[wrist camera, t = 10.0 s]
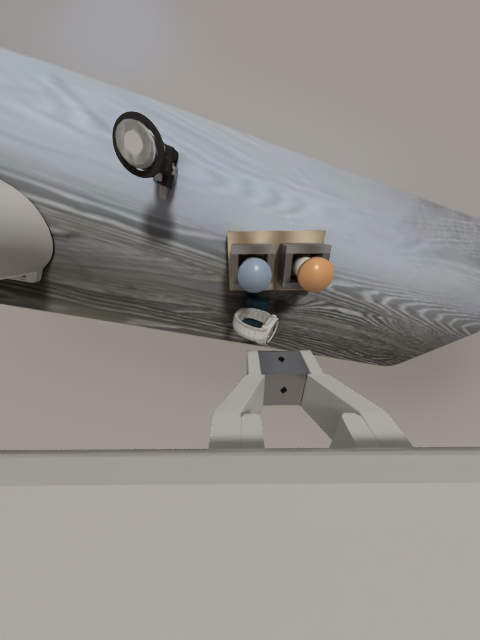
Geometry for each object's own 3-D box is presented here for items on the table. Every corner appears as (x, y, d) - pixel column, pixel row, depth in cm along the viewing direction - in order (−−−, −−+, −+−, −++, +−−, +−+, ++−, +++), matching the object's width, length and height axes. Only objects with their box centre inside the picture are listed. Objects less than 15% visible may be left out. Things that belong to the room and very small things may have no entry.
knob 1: (239, 276, 33) (238, 293, 25) (238, 250, 31) (237, 259, 23) (263, 275, 33) (270, 292, 25) (264, 249, 31) (272, 258, 23)
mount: (230, 287, 36) (227, 300, 30) (228, 231, 31) (224, 233, 25) (311, 286, 36) (325, 299, 30) (320, 230, 31) (340, 231, 25)
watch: (267, 322, 40) (276, 354, 30) (231, 314, 39) (228, 344, 29) (276, 299, 37) (288, 325, 27) (238, 289, 36) (236, 313, 27)
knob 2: (283, 275, 33) (297, 292, 24) (285, 249, 31) (302, 258, 22) (307, 275, 33) (330, 292, 24) (312, 249, 31) (337, 258, 22)
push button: (180, 205, 30) (155, 196, 21) (147, 192, 29) (106, 178, 20) (188, 154, 27) (162, 120, 18) (152, 139, 26) (106, 95, 17)
